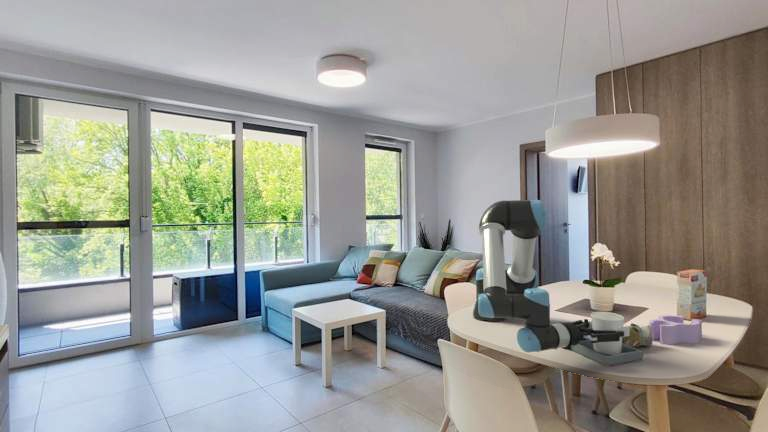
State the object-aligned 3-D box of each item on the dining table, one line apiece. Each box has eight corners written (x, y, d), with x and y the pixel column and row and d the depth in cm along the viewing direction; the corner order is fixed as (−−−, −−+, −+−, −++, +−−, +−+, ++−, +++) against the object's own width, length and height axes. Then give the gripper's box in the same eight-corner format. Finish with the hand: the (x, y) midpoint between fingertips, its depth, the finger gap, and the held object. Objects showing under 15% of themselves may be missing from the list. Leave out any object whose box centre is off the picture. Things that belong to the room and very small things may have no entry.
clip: (673, 348, 137) (673, 328, 137) (639, 337, 148) (639, 319, 148) (709, 340, 144) (709, 321, 144) (674, 330, 156) (674, 313, 155)
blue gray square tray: (571, 350, 136) (571, 342, 136) (604, 345, 141) (604, 337, 141) (607, 366, 122) (607, 357, 122) (643, 360, 126) (643, 351, 126)
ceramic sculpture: (662, 325, 135) (625, 331, 132) (664, 349, 135) (627, 356, 132) (637, 317, 145) (602, 322, 142) (638, 339, 145) (604, 345, 142)
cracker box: (692, 321, 167) (691, 273, 166) (676, 318, 172) (676, 271, 172) (707, 316, 173) (707, 270, 173) (692, 313, 179) (691, 268, 178)
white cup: (594, 342, 139) (594, 309, 138) (625, 349, 133) (626, 314, 132) (587, 351, 131) (588, 316, 131) (621, 358, 125) (621, 322, 124)
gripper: (540, 336, 136) (590, 329, 143) (589, 358, 116) (645, 348, 122) (539, 315, 136) (590, 309, 143) (588, 333, 115) (645, 325, 122)
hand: (615, 327), depth 133 cm, fingers closed on white cup, 9 cm apart
